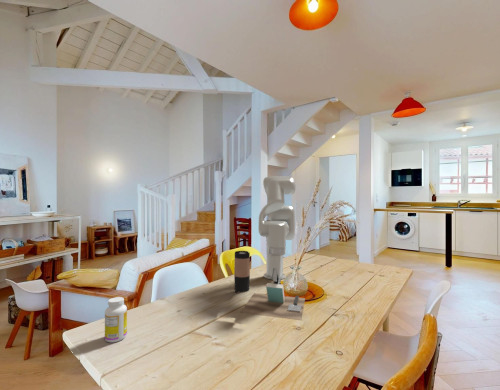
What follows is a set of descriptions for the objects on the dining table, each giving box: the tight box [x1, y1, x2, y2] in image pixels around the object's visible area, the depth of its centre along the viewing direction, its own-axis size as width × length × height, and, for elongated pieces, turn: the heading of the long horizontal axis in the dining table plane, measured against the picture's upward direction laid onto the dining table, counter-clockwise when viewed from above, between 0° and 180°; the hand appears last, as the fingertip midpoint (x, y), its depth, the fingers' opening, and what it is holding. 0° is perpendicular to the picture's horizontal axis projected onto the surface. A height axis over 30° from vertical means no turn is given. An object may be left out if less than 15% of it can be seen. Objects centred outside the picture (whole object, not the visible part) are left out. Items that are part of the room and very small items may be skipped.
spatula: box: [287, 295, 301, 312], centre depth 112 cm, size 15×5×1 cm, turn 164°
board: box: [240, 292, 306, 321], centre depth 112 cm, size 22×24×2 cm
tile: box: [265, 282, 285, 303], centre depth 113 cm, size 2×7×9 cm, turn 74°
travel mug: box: [233, 250, 251, 294], centre depth 130 cm, size 8×8×20 cm
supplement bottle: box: [104, 296, 128, 343], centre depth 88 cm, size 7×7×13 cm
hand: (276, 291), depth 117 cm, fingers closed
